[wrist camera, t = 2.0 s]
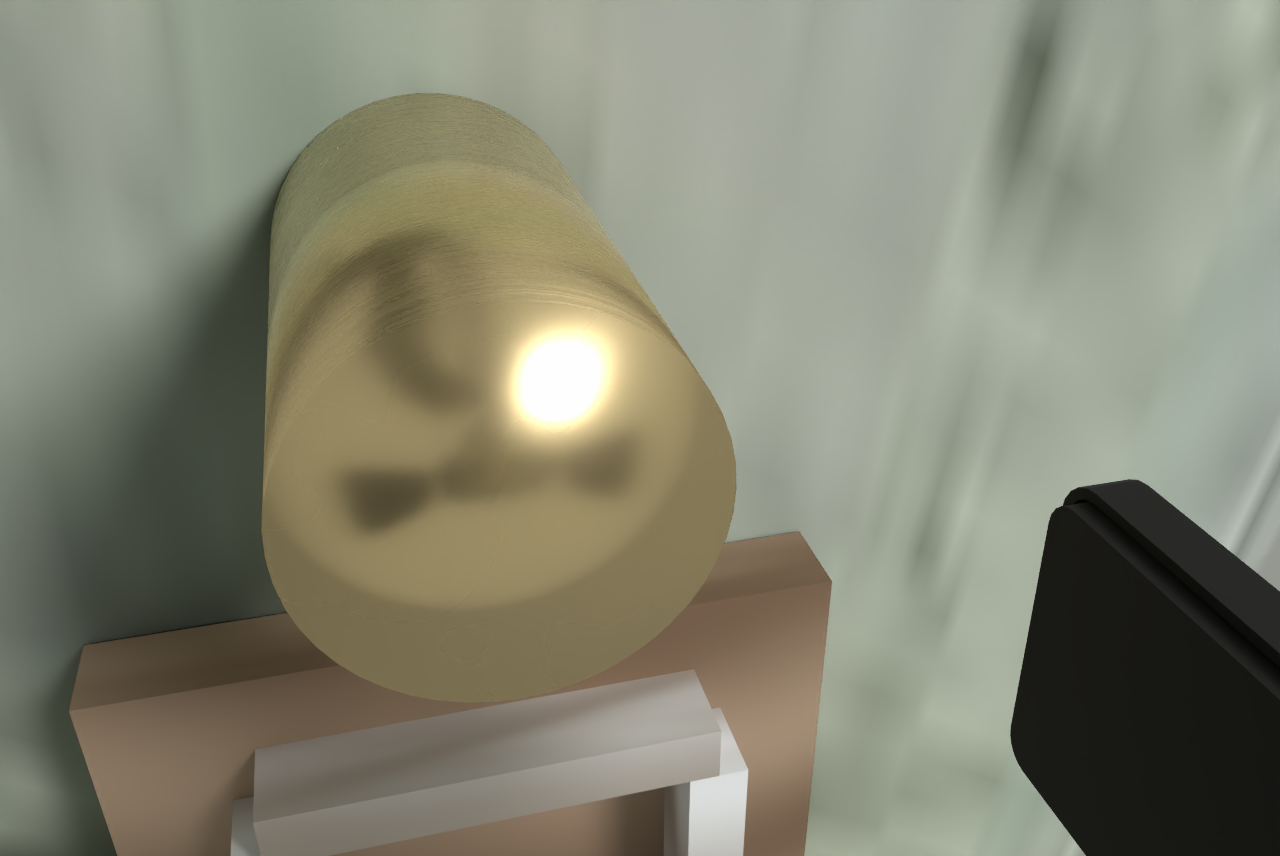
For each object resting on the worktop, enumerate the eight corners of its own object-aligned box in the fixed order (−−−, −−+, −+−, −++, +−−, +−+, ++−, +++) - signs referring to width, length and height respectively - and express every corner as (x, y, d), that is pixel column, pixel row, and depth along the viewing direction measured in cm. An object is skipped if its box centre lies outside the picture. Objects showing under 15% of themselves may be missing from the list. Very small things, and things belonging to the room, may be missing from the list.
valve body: (244, 104, 15) (218, 333, 9) (578, 82, 16) (745, 275, 10) (296, 403, 17) (301, 739, 11) (586, 367, 18) (728, 660, 12)
